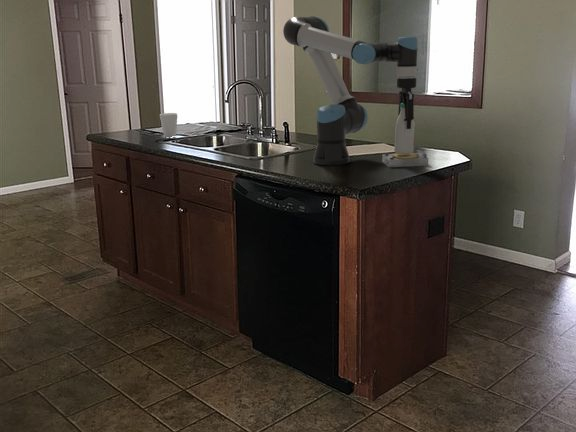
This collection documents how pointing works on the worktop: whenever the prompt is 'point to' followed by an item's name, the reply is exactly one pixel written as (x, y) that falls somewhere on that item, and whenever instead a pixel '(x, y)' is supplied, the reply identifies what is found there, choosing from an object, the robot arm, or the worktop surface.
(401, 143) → the milk bottle
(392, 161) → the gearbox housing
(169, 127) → the foam cup
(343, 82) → the robot arm
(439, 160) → the worktop surface
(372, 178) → the worktop surface
